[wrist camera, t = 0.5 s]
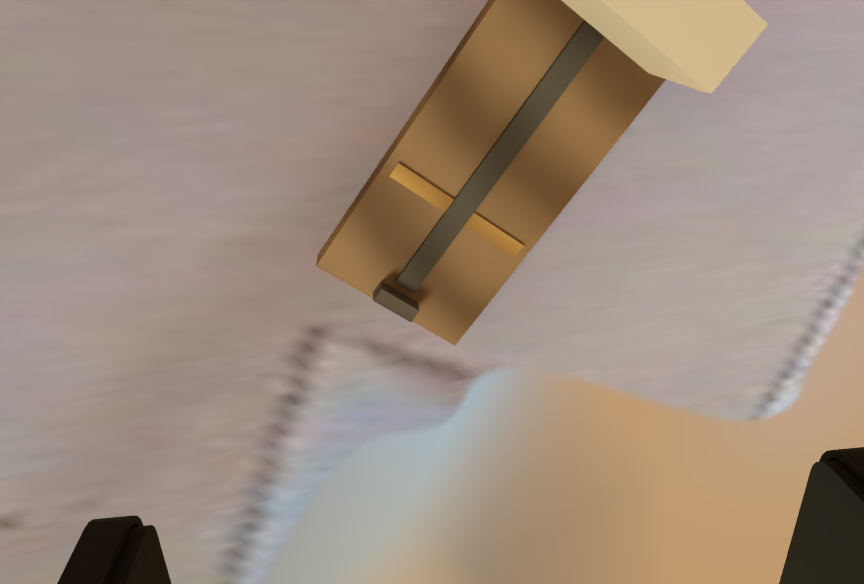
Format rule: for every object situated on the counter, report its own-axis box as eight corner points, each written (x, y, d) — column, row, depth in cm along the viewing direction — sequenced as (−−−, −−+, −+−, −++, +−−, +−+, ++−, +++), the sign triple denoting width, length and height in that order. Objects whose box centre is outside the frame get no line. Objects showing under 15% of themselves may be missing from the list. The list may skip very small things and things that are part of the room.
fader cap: (589, -72, 28) (652, -86, 22) (685, 14, 30) (768, 24, 24) (545, -10, 29) (594, -6, 23) (641, 71, 31) (711, 94, 25)
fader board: (578, -134, 29) (596, -143, 27) (716, -6, 32) (742, -4, 30) (317, 255, 36) (315, 273, 34) (451, 332, 39) (457, 354, 36)
